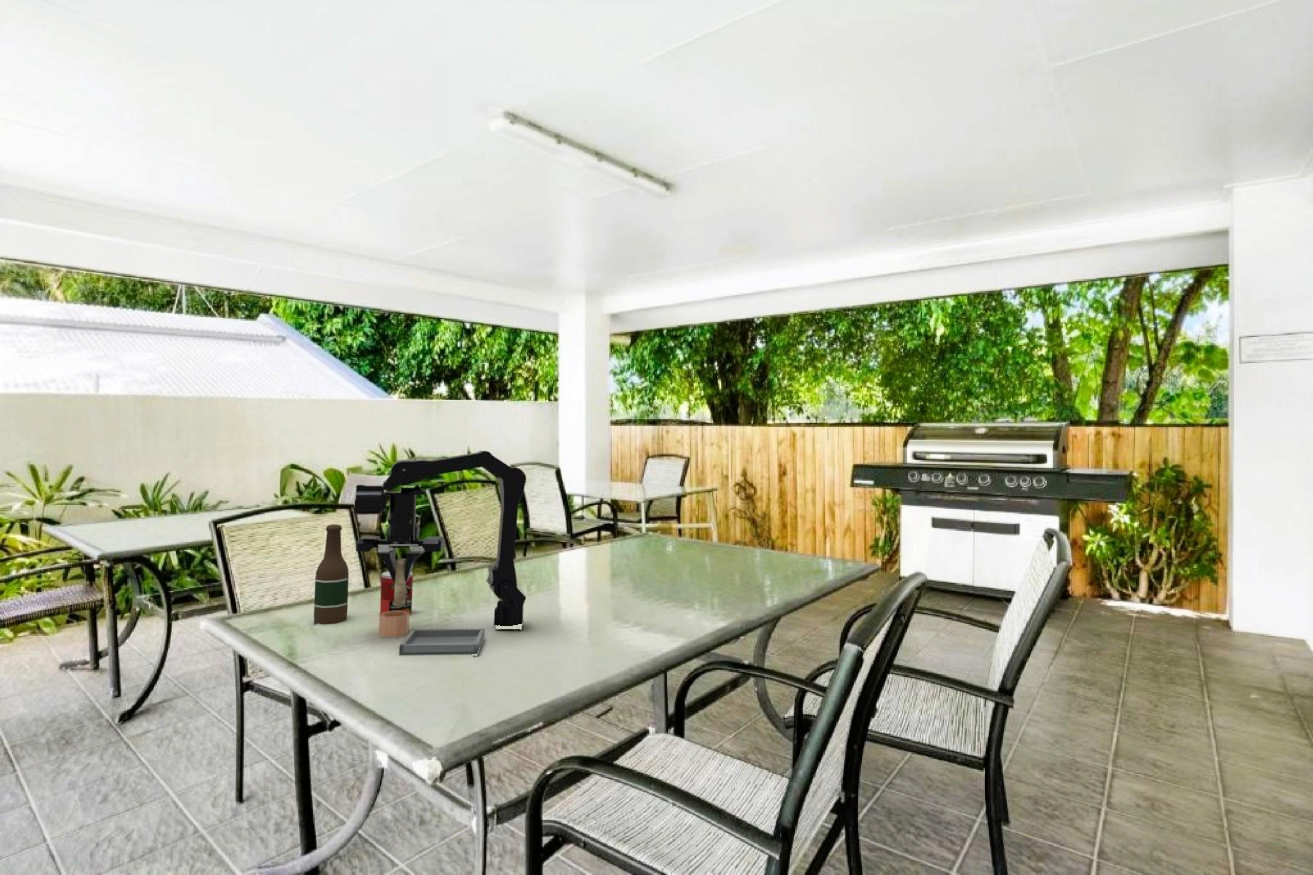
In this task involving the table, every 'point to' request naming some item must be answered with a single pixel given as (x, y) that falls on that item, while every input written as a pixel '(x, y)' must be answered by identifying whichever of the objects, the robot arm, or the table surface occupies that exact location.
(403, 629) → the cup
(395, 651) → the table surface
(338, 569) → the beer bottle
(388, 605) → the canned food
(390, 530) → the robot arm
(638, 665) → the table surface
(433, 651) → the tray
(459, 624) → the table surface
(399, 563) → the dowel pin
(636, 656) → the table surface
